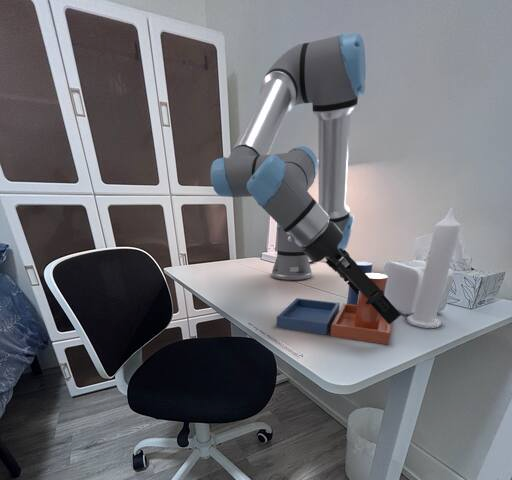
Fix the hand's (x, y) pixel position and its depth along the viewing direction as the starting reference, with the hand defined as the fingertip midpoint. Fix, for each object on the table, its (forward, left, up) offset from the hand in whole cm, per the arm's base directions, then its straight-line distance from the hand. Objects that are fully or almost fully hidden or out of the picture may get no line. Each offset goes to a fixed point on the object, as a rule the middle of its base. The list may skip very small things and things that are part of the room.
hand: (380, 307), depth 62 cm
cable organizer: (-21, +7, -6) cm, 23 cm away
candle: (-10, +10, -6) cm, 15 cm away
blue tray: (-2, -16, -6) cm, 17 cm away
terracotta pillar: (+1, -2, -5) cm, 6 cm away
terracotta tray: (-2, -3, -6) cm, 7 cm away
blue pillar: (-15, -6, -6) cm, 17 cm away
